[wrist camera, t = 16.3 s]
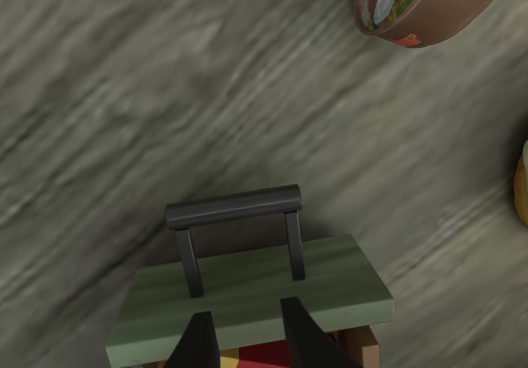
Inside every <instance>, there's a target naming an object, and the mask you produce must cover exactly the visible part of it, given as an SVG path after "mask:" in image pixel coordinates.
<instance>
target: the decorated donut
mask: <svg viewBox="0 0 528 368" xmlns="http://www.w3.org/2000/svg"><path fill="white" fill-rule="evenodd" d="M513 184H514V194H515V208H516V209H517V212H518V215H519V217H520V219H521V220H522V221H523V222H524V223H525V224H526V225H527V226H528V140H527V141H526V142H525V144H524V148H523V154H522V155H521V157H520V159H519V160H518V167H517V171H516V174H515V178H514V182H513Z"/></svg>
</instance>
